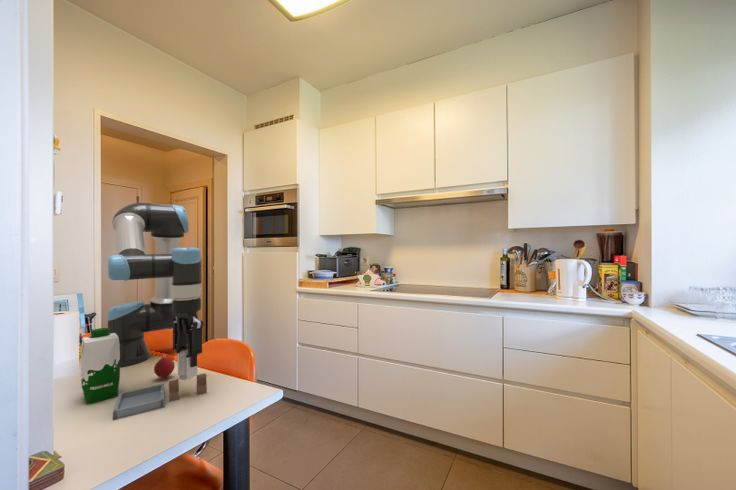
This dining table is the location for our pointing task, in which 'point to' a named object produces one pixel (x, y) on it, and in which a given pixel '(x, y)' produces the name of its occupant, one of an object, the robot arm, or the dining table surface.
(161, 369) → the red round fruit
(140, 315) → the robot arm
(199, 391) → the walnut posts
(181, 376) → the rook chess piece
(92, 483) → the dining table surface
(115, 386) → the milk carton
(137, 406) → the tray
